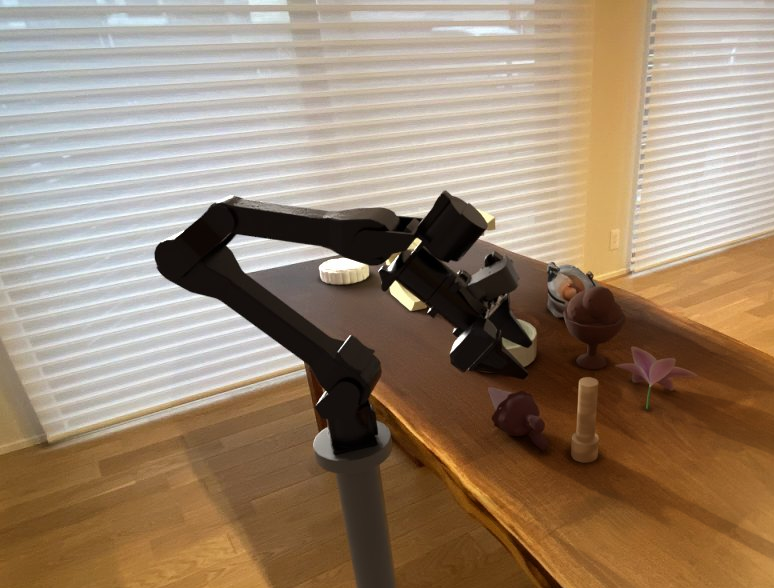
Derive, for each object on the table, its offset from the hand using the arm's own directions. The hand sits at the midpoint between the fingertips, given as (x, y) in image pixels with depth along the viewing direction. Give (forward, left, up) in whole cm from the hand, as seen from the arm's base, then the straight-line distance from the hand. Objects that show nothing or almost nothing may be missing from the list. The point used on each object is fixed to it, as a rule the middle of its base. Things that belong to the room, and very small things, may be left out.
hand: (528, 360), depth 83 cm
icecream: (0, +5, -14) cm, 15 cm away
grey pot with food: (+30, +41, -14) cm, 53 cm away
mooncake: (-12, +86, -14) cm, 88 cm away
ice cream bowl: (+22, +20, -14) cm, 33 cm away
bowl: (+7, +29, -14) cm, 33 cm away
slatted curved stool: (+3, +66, -14) cm, 68 cm away
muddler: (+7, -5, -14) cm, 16 cm away
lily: (+25, +5, -14) cm, 29 cm away
